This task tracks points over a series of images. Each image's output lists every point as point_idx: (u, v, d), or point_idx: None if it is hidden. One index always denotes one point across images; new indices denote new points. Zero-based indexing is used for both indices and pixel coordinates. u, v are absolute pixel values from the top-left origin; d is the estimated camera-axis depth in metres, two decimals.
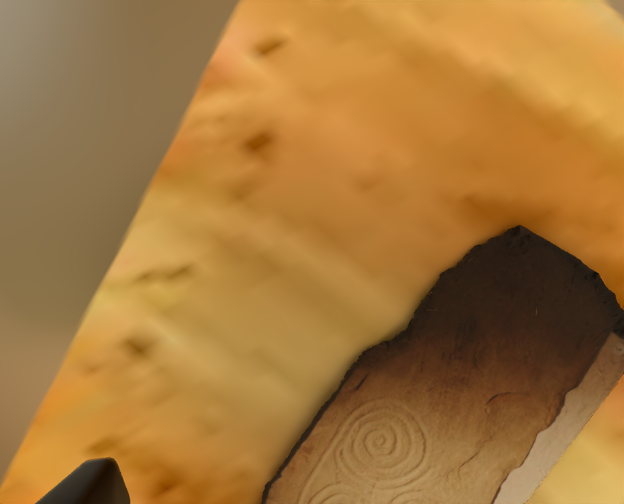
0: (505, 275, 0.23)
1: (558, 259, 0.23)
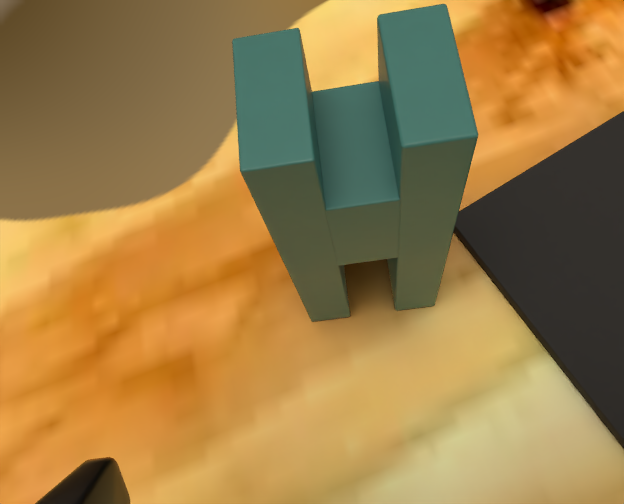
0: None
1: None
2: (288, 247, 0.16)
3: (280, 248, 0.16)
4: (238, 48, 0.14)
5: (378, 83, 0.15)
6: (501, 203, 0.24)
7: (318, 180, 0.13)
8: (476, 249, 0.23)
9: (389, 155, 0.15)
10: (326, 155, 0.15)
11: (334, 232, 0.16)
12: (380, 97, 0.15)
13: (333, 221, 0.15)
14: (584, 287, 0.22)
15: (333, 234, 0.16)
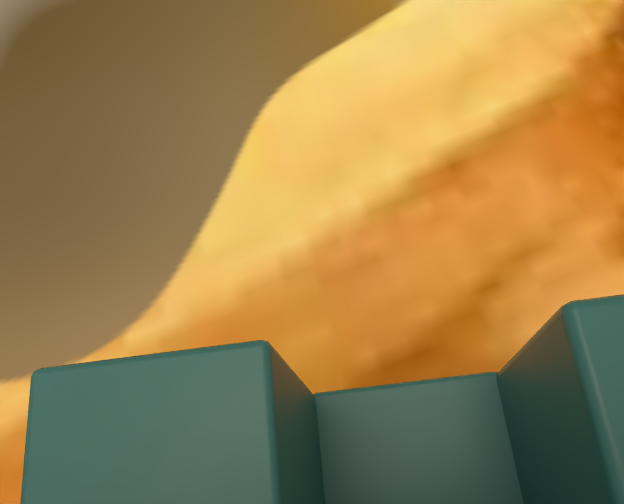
0: None
1: None
2: None
3: None
4: (47, 416, 0.04)
5: (497, 385, 0.06)
6: None
7: None
8: None
9: None
10: None
11: None
12: (505, 430, 0.06)
13: None
14: None
15: None
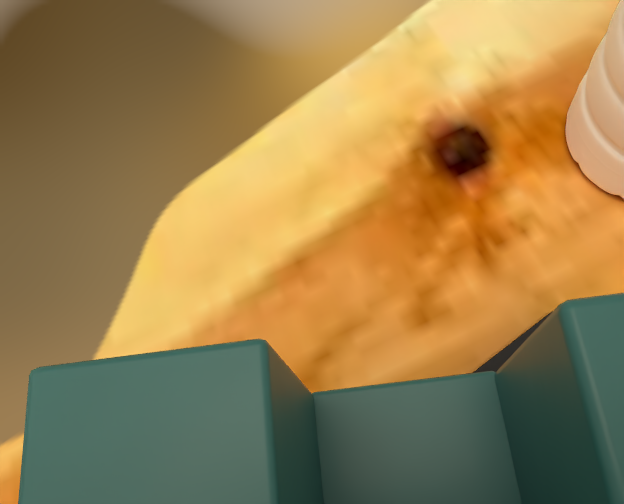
0: None
1: None
2: None
3: None
4: (45, 414, 0.04)
5: (495, 384, 0.06)
6: None
7: None
8: None
9: None
10: None
11: None
12: (503, 429, 0.06)
13: None
14: None
15: None
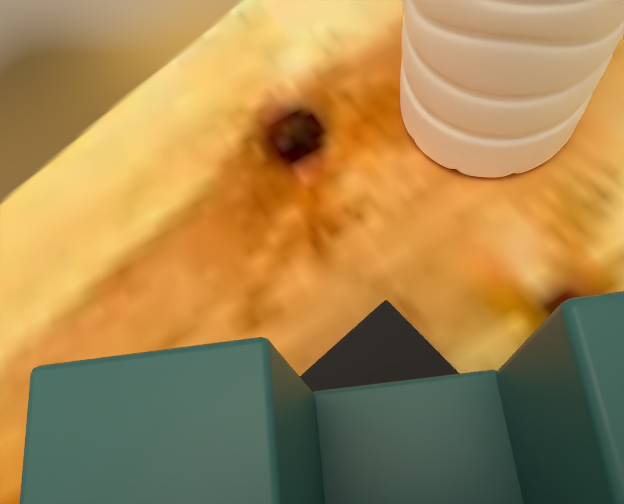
0: None
1: None
2: None
3: None
4: (46, 413, 0.04)
5: (497, 383, 0.06)
6: None
7: None
8: None
9: None
10: None
11: None
12: (504, 428, 0.06)
13: None
14: None
15: None
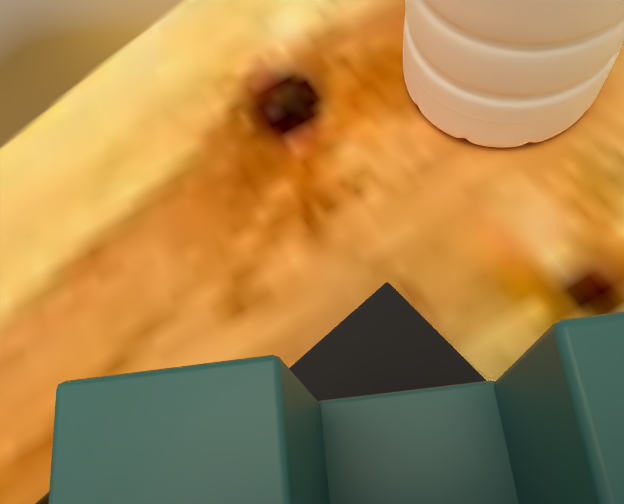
0: None
1: None
2: None
3: None
4: (72, 426, 0.04)
5: (495, 394, 0.06)
6: None
7: None
8: None
9: None
10: None
11: None
12: (502, 436, 0.06)
13: None
14: None
15: None
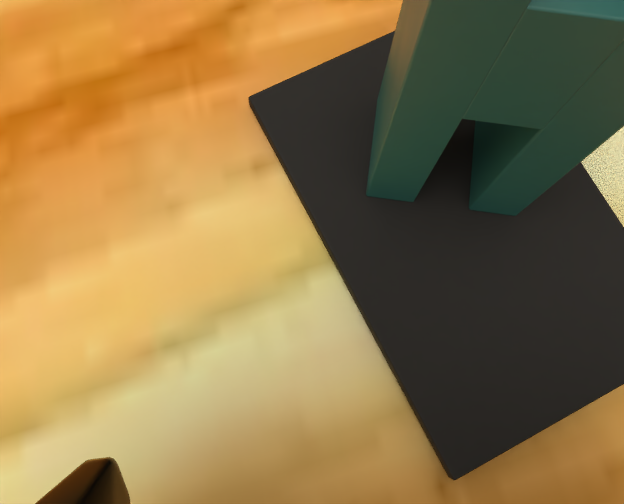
0: None
1: None
2: (427, 64, 0.11)
3: (415, 62, 0.11)
4: None
5: None
6: (312, 87, 0.20)
7: None
8: (272, 137, 0.20)
9: None
10: None
11: (504, 56, 0.11)
12: None
13: (520, 34, 0.10)
14: None
15: (500, 60, 0.11)
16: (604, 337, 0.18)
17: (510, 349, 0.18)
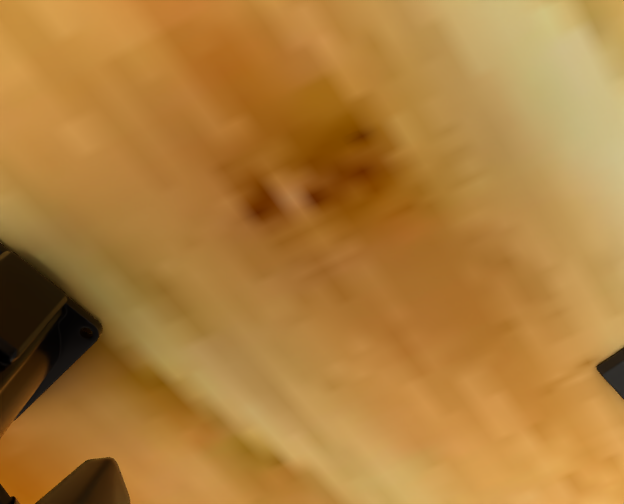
0: None
1: None
2: None
3: None
4: None
5: None
6: None
7: None
8: None
9: None
10: None
11: None
12: None
13: None
14: None
15: None
16: None
17: None
